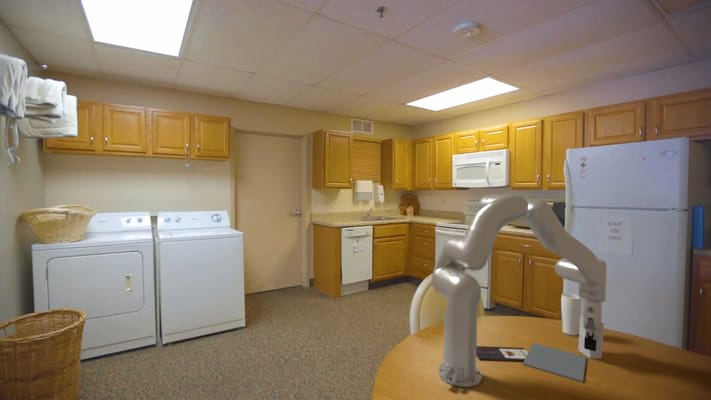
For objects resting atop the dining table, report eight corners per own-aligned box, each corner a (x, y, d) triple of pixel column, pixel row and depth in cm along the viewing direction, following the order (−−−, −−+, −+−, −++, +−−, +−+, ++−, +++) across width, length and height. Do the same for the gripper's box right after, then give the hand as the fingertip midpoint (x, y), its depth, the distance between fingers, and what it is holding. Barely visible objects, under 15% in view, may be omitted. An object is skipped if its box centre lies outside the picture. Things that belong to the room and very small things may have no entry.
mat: (582, 382, 96) (582, 381, 96) (523, 364, 106) (523, 363, 106) (586, 358, 111) (586, 356, 111) (533, 344, 121) (533, 343, 120)
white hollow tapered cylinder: (584, 337, 127) (585, 298, 126) (567, 337, 127) (568, 298, 126) (573, 329, 134) (574, 293, 133) (556, 329, 134) (557, 293, 133)
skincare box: (577, 350, 116) (578, 316, 116) (589, 350, 116) (590, 316, 116) (590, 359, 110) (591, 323, 110) (603, 359, 110) (604, 323, 110)
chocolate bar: (471, 345, 118) (523, 347, 117) (471, 348, 118) (523, 350, 117) (479, 358, 109) (535, 361, 108) (479, 361, 109) (535, 363, 108)
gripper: (605, 303, 104) (603, 359, 104) (605, 290, 117) (604, 339, 118) (576, 298, 108) (575, 351, 109) (580, 286, 122) (579, 333, 122)
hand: (590, 345), depth 113 cm, fingers closed on skincare box, 7 cm apart
